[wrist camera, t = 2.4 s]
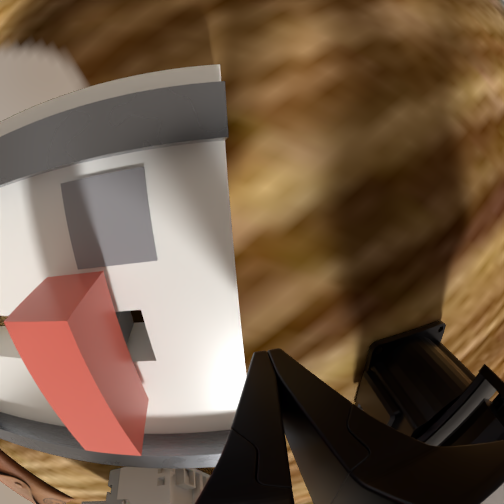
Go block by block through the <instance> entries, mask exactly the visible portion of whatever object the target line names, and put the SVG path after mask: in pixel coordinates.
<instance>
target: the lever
mask: <svg viewBox="0 0 504 504" xmlns="http://www.w3.org/2000/svg"><path fill="white" fill-rule="evenodd" d="M4 324H5V326H6V328H7V330H8V333H9V335H10V337H11V339H12V341H13V343H14V345H15V347H16V349H17V351H18V353H19V355H20V357H21V358H22V360H23V362H24V364H25V366H26V367H27V369H28V371H29V373H30V374H31V376H32V378H33V379H34V381H35V383H36V384H37V386H38V387H39V389H40V391H41V392H42V394H43V395H44V397H45V398H46V400H47V401H48V403H49V404H50V406H51V407H52V408H53V410H54V411H55V413H56V414H57V415H58V417H59V418H60V419H61V421H62V422H63V423H64V425H65V426H66V427H67V429H68V430H69V431H70V432H71V434H72V435H73V436H74V437H75V439H76V440H77V441H78V442H79V443H80V444H81V446H82V447H83V448H84V449H85V450H87V451H94V452H101V453H110V454H121V455H135V456H141V455H142V446H143V438H144V429H145V422H146V414H147V408H148V401H149V399H148V396H147V394H146V392H145V390H144V387H143V385H142V383H141V381H140V378H139V376H138V373H137V371H136V368H135V366H134V363H133V361H132V358H131V356H130V353H129V350H128V348H127V342H128V339H129V336H130V333H131V330H132V328H133V325H134V322H133V318H132V315H131V312H130V311H118V312H115V310H114V306H113V303H112V300H111V296H110V293H109V289H108V286H107V282H106V278H105V275H104V271H99V272H90V273H81V274H71V275H62V276H53V277H47V278H46V279H45V280H44V281H43V282H42V283H41V284H40V285H38V286H37V287H36V288H35V289H34V290H33V291H32V292H31V293H30V294H29V295H28V296H27V297H26V298H25V299H24V300H23V301H22V302H21V303H20V304H19V306H18V307H17V308H16V309H15V310H14V311H13V312H12V313H11V314H10V315H9V316H8V317H7V318H6V319H5V320H4Z"/></svg>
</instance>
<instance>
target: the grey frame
mask: <svg viewBox="0 0 504 504" xmlns="http://www.w3.org/2000/svg"><path fill="white" fill-rule="evenodd" d="M228 137H229V136H228V122H227V107H226V91H225V81H219V82H206V83H196V84H187V85H179V86H171V87H164V88H158V89H152V90H146V91H141V92H136V93H131V94H126V95H122V96H117V97H113V98H109V99H105V100H101V101H97V102H93V103H90V104H86V105H83V106H79V107H76V108H73V109H70V110H66V111H63V112H60V113H57V114H55V115H52V116H49V117H46V118H44V119H41V120H38V121H36V122H33V123H31V124H28V125H26V126H23V127H21V128H19V129H16V130H14V131H12V132H10V133H7V134H5V135H3V136H1V137H0V187H3V186H6V185H9V184H12V183H15V182H18V181H21V180H24V179H27V178H30V177H33V176H36V175H39V174H43V173H46V172H50V171H53V170H57V169H60V168H64V167H68V166H72V165H76V164H80V163H84V162H88V161H93V160H97V159H102V158H106V157H111V156H116V155H121V154H126V153H132V152H137V151H143V150H149V149H156V148H162V147H169V146H177V145H185V144H193V143H202V142H212V141H224V140H226V139H227V138H228ZM230 430H231V429H230ZM230 430H221V431H210V432H196V433H172V434H144V438H143V446H142V455H141V456H135V455H121V454H110V453H101V452H94V451H87V450H85V449H84V448H83V447H82V446H81V444H80V443H79V442H78V441H77V440H76V439H75V437H74V436H73V435H72V434H71V432H70V431H69V430H68V429H67V427H65V426H59V425H53V424H48V423H43V422H38V421H33V420H29V419H25V418H21V417H17V416H13V415H10V414H6V413H3V412H0V438H1V439H3V440H6V441H9V442H12V443H15V444H18V445H21V446H24V447H27V448H30V449H34V450H37V451H41V452H45V453H49V454H53V455H57V456H61V457H66V458H71V459H76V460H81V461H87V462H93V463H100V464H107V465H116V466H126V467H139V468H167V469H178V468H206V467H215V466H216V464H217V462H218V460H219V458H220V456H221V454H222V451H223V449H224V446H225V443H226V440H227V438H228V434H229V431H230Z"/></svg>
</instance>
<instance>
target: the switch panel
mask: <svg viewBox="0 0 504 504" xmlns="http://www.w3.org/2000/svg"><path fill="white" fill-rule="evenodd" d="M219 81H221V71H220V64H216V65H203V66H193V67H184V68H176V69H169V70H163V71H156V72H151V73H145V74H140V75H135V76H130V77H126V78H121V79H117V80H113V81H109V82H105V83H101V84H97V85H94V86H90V87H87V88H84V89H80V90H77V91H74V92H71V93H68V94H65V95H62V96H59V97H57V98H54V99H51V100H48V101H46V102H43V103H41V104H38V105H36V106H33V107H31V108H29V109H27V110H24V111H22V112H20V113H17V114H15V115H13V116H11V117H9V118H7V119H5V120H3V121H1V122H0V137H1V136H3V135H5V134H7V133H10V132H12V131H14V130H16V129H19V128H21V127H23V126H26V125H28V124H31V123H33V122H36V121H38V120H41V119H44V118H46V117H49V116H52V115H55V114H57V113H60V112H63V111H66V110H70V109H73V108H76V107H79V106H83V105H86V104H90V103H93V102H97V101H101V100H105V99H109V98H113V97H117V96H122V95H126V94H131V93H136V92H141V91H146V90H152V89H158V88H164V87H171V86H179V85H187V84H196V83H206V82H219ZM99 271H104V275H105V278H106V282H107V286H108V289H109V293H110V296H111V300H112V303H113V306H114V310H115V312H118V311H132V310H141V312H142V315H143V319H144V322H139V323H134V325H133V328H132V330H131V333H130V336H129V339H128V342H127V348H128V350H129V353H130V356H131V358H132V361H133V363H134V366H135V368H136V371H137V373H138V376H139V378H140V381H141V383H142V385H143V387H144V390H145V392H146V394H147V396H148V399H149V401H148V408H147V414H146V422H145V429H144V434H172V433H196V432H210V431H221V430H230V429H231V425H232V422H233V419H234V416H235V413H236V409H237V406H238V403H239V400H240V396H241V393H242V390H243V386H244V383H245V380H246V368H245V359H244V349H243V340H242V330H241V321H240V311H239V301H238V290H237V280H236V269H235V258H234V247H233V236H232V224H231V212H230V200H229V188H228V175H227V162H226V148H225V140H224V141H212V142H202V143H193V144H185V145H177V146H169V147H162V148H156V149H149V150H143V151H137V152H132V153H126V154H121V155H116V156H111V157H106V158H102V159H97V160H93V161H88V162H84V163H80V164H76V165H72V166H68V167H64V168H60V169H57V170H53V171H50V172H46V173H43V174H39V175H36V176H33V177H30V178H27V179H24V180H21V181H18V182H15V183H12V184H9V185H6V186H3V187H0V316H9V315H10V314H11V313H12V312H13V311H14V310H15V309H16V308H17V307H18V306H19V304H20V303H21V302H22V301H23V300H24V299H25V298H26V297H27V296H28V295H29V294H30V293H31V292H32V291H33V290H34V289H35V288H36V287H37V286H38V285H40V284H41V283H42V282H43V281H44V280H45V279H46V278H47V277H53V276H62V275H71V274H81V273H90V272H99ZM0 412H3V413H6V414H10V415H13V416H17V417H21V418H25V419H29V420H33V421H38V422H43V423H48V424H53V425H59V426H65V425H64V423H63V422H62V421H61V419H60V418H59V417H58V415H57V414H56V413H55V411H54V410H53V408H52V407H51V406H50V404H49V403H48V401H47V400H46V398H45V397H44V395H43V394H42V392H41V391H40V389H39V387H38V386H37V384H36V383H35V381H34V379H33V378H32V376H31V374H30V373H29V371H28V369H27V367H26V366H25V364H24V362H23V360H22V358H21V357H20V355H19V353H18V351H17V349H16V347H15V345H14V343H13V341H12V339H11V337H10V335H9V333H8V330H7V328H6V326H0ZM65 427H66V426H65Z"/></svg>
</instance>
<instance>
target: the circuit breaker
mask: <svg viewBox="0 0 504 504" xmlns="http://www.w3.org/2000/svg"><path fill="white" fill-rule="evenodd" d="M185 469H187V470H188V471H187V470H185ZM210 476H211V475H208V474H206V473H204V472H202V471H200V470H198V469H196V468H178V469H167V468H139V467H123V468H118V469H114V470H111V471H110V475H109V482H108V486H109V487H111V493H110V492H107V497H106V501H92V502H82V504H195V502H196V501H197V499H198V497H199V495H200V494H201V492H202V490H203V488H204V487H205V485H206V483H207V481H208V479H209V478H210Z"/></svg>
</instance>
